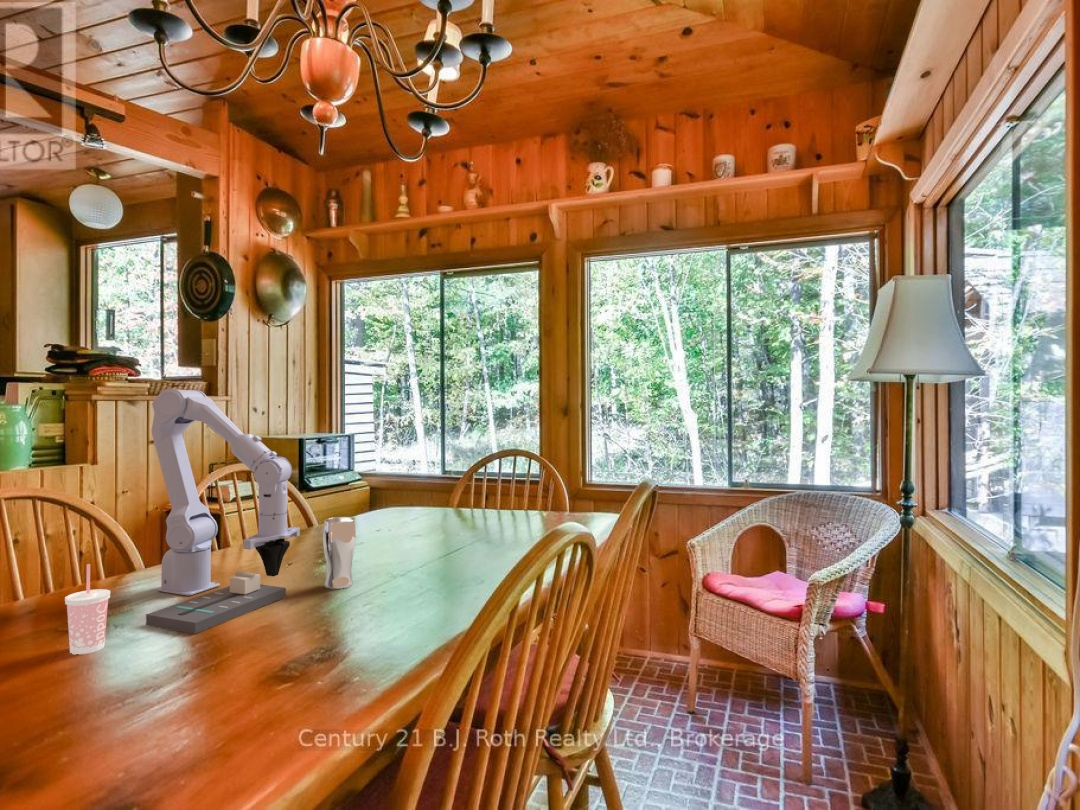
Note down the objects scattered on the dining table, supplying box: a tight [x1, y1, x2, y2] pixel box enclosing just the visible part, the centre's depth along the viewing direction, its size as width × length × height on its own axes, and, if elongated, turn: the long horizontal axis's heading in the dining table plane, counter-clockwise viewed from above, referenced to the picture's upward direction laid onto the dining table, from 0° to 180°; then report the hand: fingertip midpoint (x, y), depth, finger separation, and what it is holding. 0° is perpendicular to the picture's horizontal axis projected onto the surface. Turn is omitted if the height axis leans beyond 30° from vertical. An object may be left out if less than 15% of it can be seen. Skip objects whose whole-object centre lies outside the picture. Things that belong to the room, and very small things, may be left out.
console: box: [145, 583, 287, 635], centre depth 118 cm, size 12×22×2 cm, turn 161°
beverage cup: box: [64, 563, 111, 655], centre depth 99 cm, size 6×6×14 cm
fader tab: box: [229, 571, 261, 594], centre depth 124 cm, size 4×4×4 cm
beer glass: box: [322, 516, 357, 590], centre depth 136 cm, size 7×7×15 cm
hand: (272, 575), depth 131 cm, fingers closed
